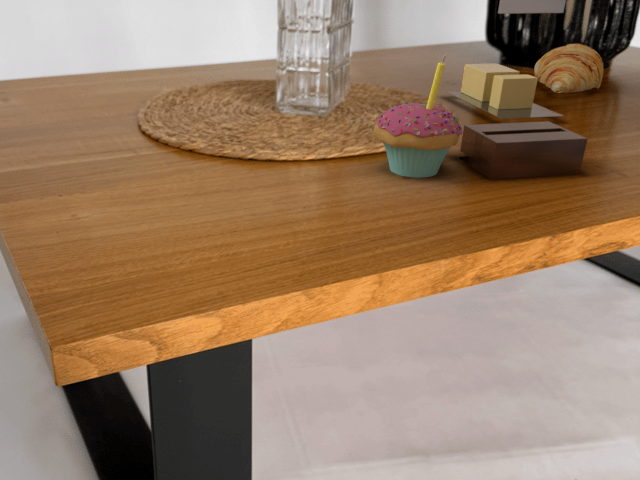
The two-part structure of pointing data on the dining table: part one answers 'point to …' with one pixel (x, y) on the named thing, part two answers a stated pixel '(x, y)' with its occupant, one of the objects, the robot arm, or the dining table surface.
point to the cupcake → (418, 134)
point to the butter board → (508, 111)
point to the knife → (531, 6)
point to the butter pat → (513, 91)
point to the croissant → (570, 69)
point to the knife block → (522, 149)
